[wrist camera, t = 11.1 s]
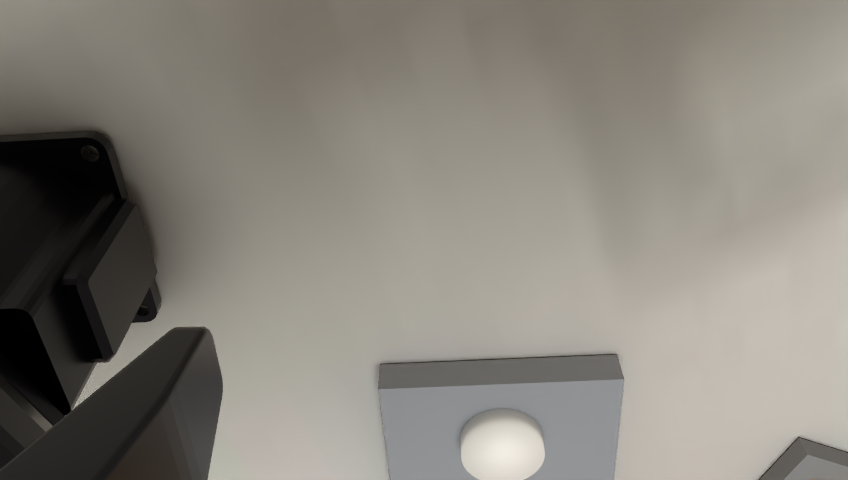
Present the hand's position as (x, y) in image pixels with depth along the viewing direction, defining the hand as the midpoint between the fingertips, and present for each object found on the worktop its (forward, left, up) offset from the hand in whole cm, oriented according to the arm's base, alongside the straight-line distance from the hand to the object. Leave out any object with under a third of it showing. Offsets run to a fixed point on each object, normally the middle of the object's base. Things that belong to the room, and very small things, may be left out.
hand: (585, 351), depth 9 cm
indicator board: (0, -19, -13) cm, 23 cm away
